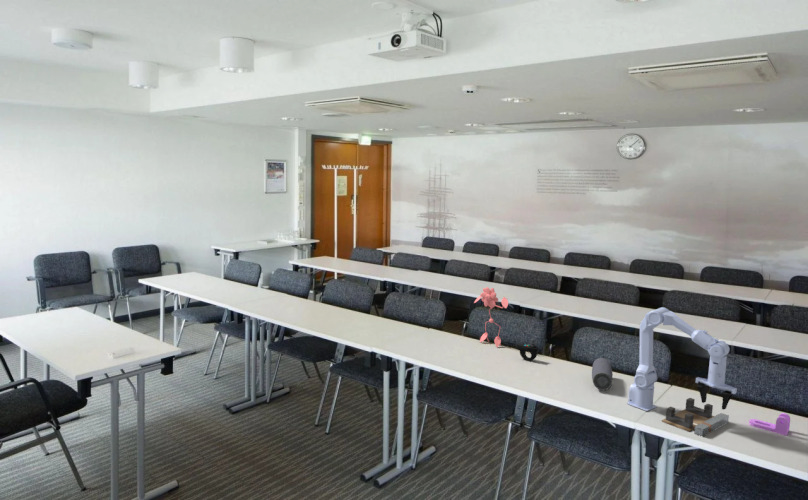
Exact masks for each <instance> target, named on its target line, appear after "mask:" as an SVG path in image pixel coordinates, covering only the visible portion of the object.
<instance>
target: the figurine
mask: <svg viewBox="0 0 808 500" xmlns="http://www.w3.org/2000/svg"><path fill="white" fill-rule="evenodd" d="M482 291H483V292H481V293H480V295H479V296H477V298H476V299H475V300H474V302H473V304H476V303H477V302H479V300H481V301H482V302H483V306H484V307H486V308H487V307H489V309H488V312H489V313H488V314H489V316H490V317H489V320H488V321H485V323H484V324H485V325H484V326H485V327H484V329H485V330H484V331H485V332H484V333H482V335H481V336H480V337H479V342H480V343H483V342H484V341H485V340H487V342H488V343H489V342H490V340H489V337H488V334H489V333H488V332H487V323H488V322H489V323H490V324H492V323H494V324H495V325H496V326H498V327H500V325H499V324H498V323H496V322H494V318H493V317H492V316H491V311H490V310H492V309H493V308H494V307H497V308H500V309H507V308H508V306H509V300H508V298H507V297H506V296H503V298H502V299H501V302H500V303H501V305H502V306H501V305H496V303H498V302H499V298H498V297H497V293H496V292H495V288H493V287H492V288H490V287H488V286H487V287H483V288H482ZM500 332H501V328H499V330H498V335H497V336H495V338H494V344H495V347H496V348H498V347H499V346H500V347H501V346H502V344H501V342H502V340H501V337H500V336H499V335H500Z"/></svg>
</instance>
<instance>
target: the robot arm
mask: <svg viewBox="0 0 808 500" xmlns="http://www.w3.org/2000/svg"><path fill="white" fill-rule="evenodd" d="M639 323H640V324H639V351H638V352H639V357H638V358H639V363H638V364H639V365H638V366H637V369H636V370H635V371H636V372H635V375H634V377H633V383H631V385H629V390H628V401H627V405H628V406H629V405H630V407H631V406H632V407H635V408H638V409H640V410H642V411H645V412H649V411H651V410H653V409H655V408H657V405H655V404H654V396H655V383H656V382H657V381H658V375H657V372H656V367H655V365H654V329H655V328H657V327H659V325H660V326H661V324H662V325H663V326H673V327H675V328H676V329H678V330H680V331H681V332H683V333H685V334H686V335H688V336H690V337H691V341H692V342H694V344H696V345H697V346H699V347H701V348H702V349H704V350H705V351H707V353H708V355H709V356H710V357H709V363H708V364H709V366H708V374H707V378H703V377H699V376H697V377H695V384H697V385H696V388H697V389H698V392H699V395H700V399H701V403H703V404H705V403H706V402H707V396H708V390H709V387H711V388H714V389H717V390H721V391H723V392H722V393H721V395H722V396H721V397H722V403H721V410H726V409H727V407H728V403H729V402H730V400H731V399H732V397H733V396H734V395H735V394H737V387H733V386H732V385H729V384H726V383H725V381H726V373H727V372H726V371H727V358H728V354H729V353H730V350H731V349H730V346H729V344H728V343H726V341H724V340H719V339H718V338H715V337H713V336H712V335H711V334H709V333H708V331H707V330H705V329H704V330H703V329H696V328H695V327H693V326H692V325H690V324H689V323H688V322H686V321H685V320H684V319H682V318H681V317H680V316H678V315H677V314H676V313H674V311H672V310H669V309H668V308H666V307H664V306H662V307H658V308H657V309H653V310H650V311H648V312H647V313H645V315H644V317H643V319H642V320H641V322H639Z"/></svg>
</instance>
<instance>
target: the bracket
mask: <svg viewBox="0 0 808 500" xmlns="http://www.w3.org/2000/svg"><path fill="white" fill-rule="evenodd" d="M748 423H749V426H751V427H754V428H758V429H760V430H765V431H768V432H771V433H776V434H779V435H781V436H782V435H783V436H787V435H788V434H789V432H790V427H791V426H790V424H791V416H790V415H789V414H788V413H785V412H782V413H780V414H779V415H778V417H777V418H776V420H775V424H774V423H772V422H768V421H764V420H760V419H756V418H751V419H749V420H748Z"/></svg>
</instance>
